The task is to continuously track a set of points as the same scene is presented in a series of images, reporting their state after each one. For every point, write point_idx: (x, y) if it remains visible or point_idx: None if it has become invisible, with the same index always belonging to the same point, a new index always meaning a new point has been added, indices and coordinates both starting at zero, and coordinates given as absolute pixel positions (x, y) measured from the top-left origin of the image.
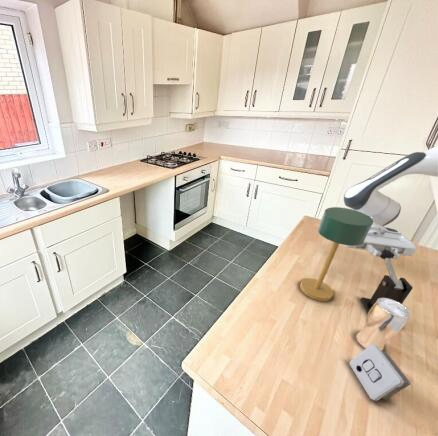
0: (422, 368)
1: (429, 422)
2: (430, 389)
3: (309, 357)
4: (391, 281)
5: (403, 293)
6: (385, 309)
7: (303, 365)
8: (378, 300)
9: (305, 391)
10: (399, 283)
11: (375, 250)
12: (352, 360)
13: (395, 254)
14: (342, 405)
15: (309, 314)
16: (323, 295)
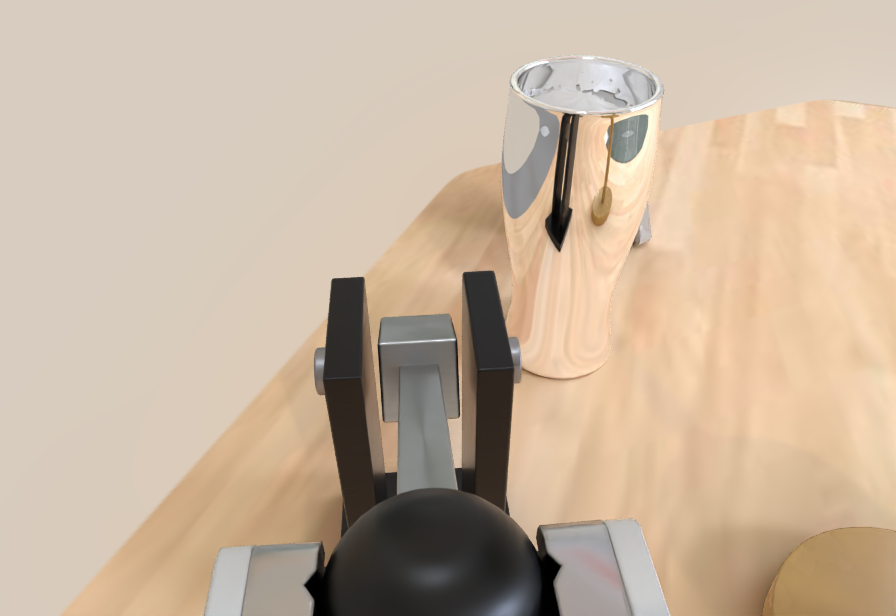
0: (377, 301)
1: (456, 182)
2: (398, 247)
3: (782, 230)
4: (486, 297)
5: (371, 352)
6: (565, 201)
7: (792, 207)
8: (655, 93)
9: (765, 161)
10: (403, 331)
11: (654, 578)
12: (649, 223)
13: (288, 550)
14: (668, 160)
15: (854, 409)
16: (840, 562)
